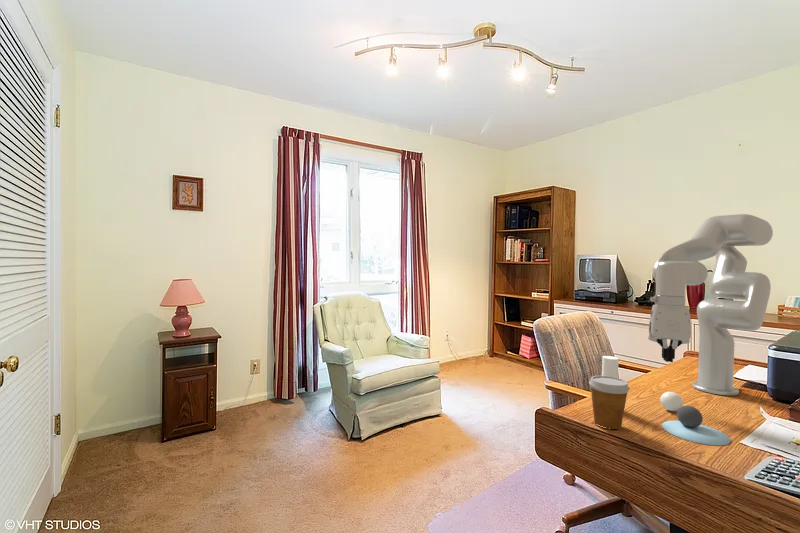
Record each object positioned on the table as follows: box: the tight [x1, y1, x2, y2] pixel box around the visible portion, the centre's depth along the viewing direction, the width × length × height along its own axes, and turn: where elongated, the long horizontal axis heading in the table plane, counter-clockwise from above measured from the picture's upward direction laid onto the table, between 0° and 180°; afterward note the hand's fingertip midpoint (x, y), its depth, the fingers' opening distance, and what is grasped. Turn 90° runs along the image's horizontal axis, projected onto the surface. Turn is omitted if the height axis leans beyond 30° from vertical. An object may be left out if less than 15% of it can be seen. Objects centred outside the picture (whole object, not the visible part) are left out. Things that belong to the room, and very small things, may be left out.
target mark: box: [661, 420, 731, 447], centre depth 100 cm, size 14×14×1 cm
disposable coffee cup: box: [588, 375, 631, 430], centre depth 104 cm, size 10×10×12 cm
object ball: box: [676, 405, 704, 428], centre depth 104 cm, size 6×6×6 cm
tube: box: [601, 355, 620, 378], centre depth 116 cm, size 4×4×15 cm
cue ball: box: [659, 391, 684, 412], centre depth 115 cm, size 6×6×6 cm
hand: (668, 360), depth 120 cm, fingers closed
